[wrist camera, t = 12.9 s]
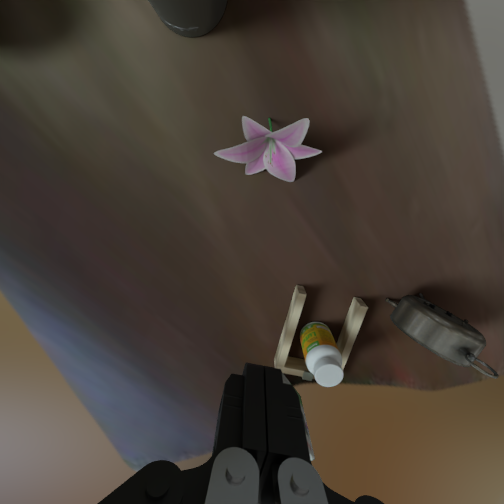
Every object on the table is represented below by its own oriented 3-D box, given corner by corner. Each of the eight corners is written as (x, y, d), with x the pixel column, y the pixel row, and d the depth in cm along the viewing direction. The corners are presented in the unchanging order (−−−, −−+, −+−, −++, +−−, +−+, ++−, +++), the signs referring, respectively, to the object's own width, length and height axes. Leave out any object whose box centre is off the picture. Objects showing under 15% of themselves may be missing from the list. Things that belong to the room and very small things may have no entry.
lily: (209, 145, 39) (205, 182, 32) (250, 58, 31) (256, 84, 25) (278, 179, 43) (287, 218, 37) (327, 111, 36) (349, 145, 30)
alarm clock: (374, 304, 45) (436, 377, 29) (392, 276, 43) (469, 339, 28) (428, 328, 46) (516, 411, 31) (448, 303, 44) (551, 376, 29)
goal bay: (296, 284, 44) (299, 294, 41) (360, 298, 44) (369, 308, 41) (273, 360, 48) (275, 374, 45) (332, 371, 49) (338, 386, 46)
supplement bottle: (308, 315, 46) (322, 354, 36) (336, 328, 46) (356, 369, 37) (293, 340, 47) (302, 383, 38) (320, 351, 48) (335, 396, 38)
